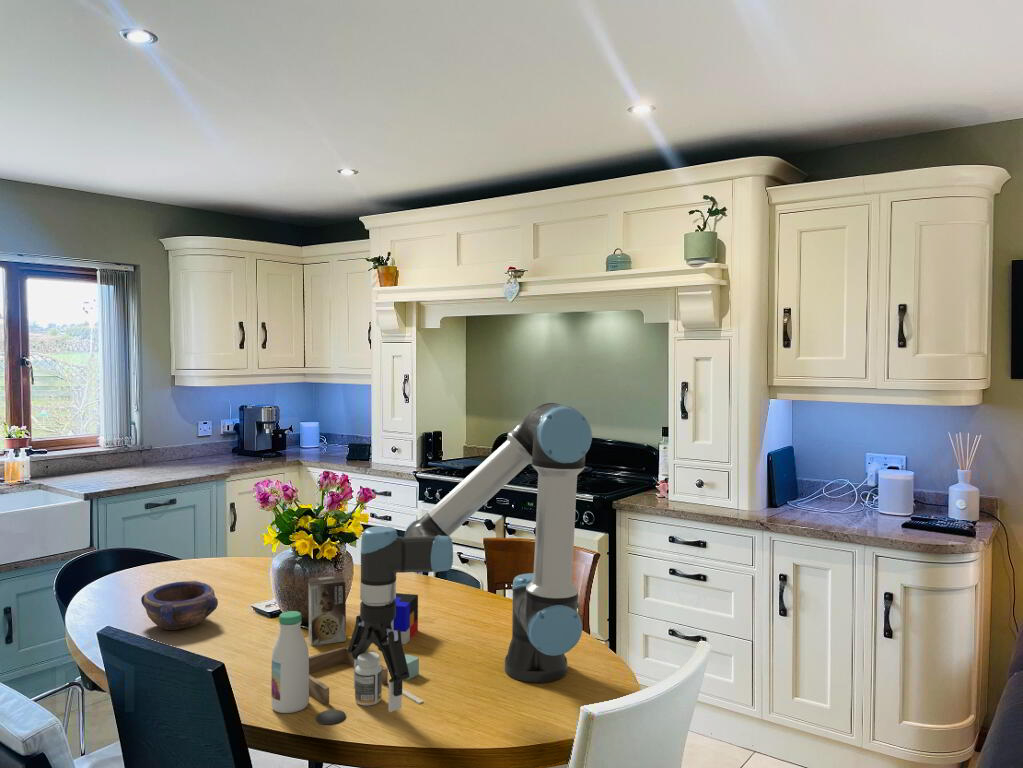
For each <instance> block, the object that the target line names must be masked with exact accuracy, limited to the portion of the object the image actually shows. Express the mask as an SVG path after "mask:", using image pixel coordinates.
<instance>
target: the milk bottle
mask: <svg viewBox="0 0 1023 768" xmlns="http://www.w3.org/2000/svg"><path fill="white" fill-rule="evenodd" d="M302 618H303V617H302V613H301V612H300V611H297V610H288V611H284V612H281V613H280V614H279V617H278V623H279V624H278V625H279V627H280V628H279V633H278V636H277V637H276V640H275V642H274V644H273V647H272V654H271V677H270V678H271V681H270V682H271V685H270V686H271V688H270V689H271V692H270V693H271V695H270V697H271V700H270V701H271V707H272V710H273V711H274V712H276V713H280V714H292V713H293V714H294V713H296V712H300V711H302V710H304V709H306V707H307V706H308V705H309V703H310V694H309V675H310V673H309V657H310V656H309V647H308V643H307V641H306V639H305V637H304V635H303V634H304V633H303V632H302V628H301V624H302Z"/></svg>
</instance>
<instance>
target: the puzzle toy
mask: <svg viewBox="0 0 1023 768" xmlns="http://www.w3.org/2000/svg"><path fill="white" fill-rule="evenodd" d="M394 600H395V601H396V617H395V618H394V619H393V621H392V622H391V627H392V630H398V629H399V630H400V631H401V642H402V645H406V644H407V643H408V642H409V641H410V640H411V639H412V638H413V637H414V635H415V634H416V633H417V632H418V631H419V594H411V593H401V592H400V593H399V592H396V598H395V599H394ZM386 644H389V643H388V642H387V643H386Z"/></svg>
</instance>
